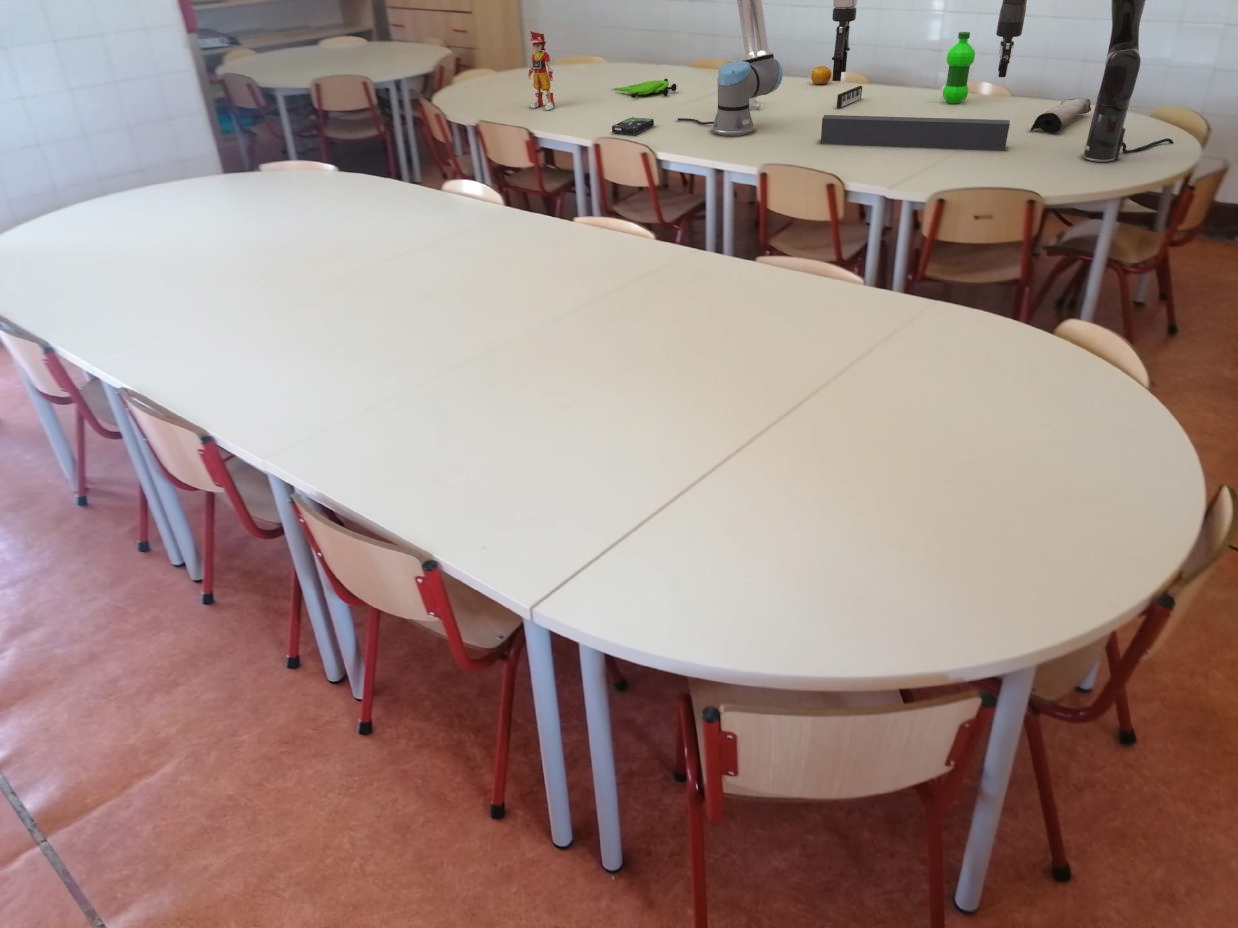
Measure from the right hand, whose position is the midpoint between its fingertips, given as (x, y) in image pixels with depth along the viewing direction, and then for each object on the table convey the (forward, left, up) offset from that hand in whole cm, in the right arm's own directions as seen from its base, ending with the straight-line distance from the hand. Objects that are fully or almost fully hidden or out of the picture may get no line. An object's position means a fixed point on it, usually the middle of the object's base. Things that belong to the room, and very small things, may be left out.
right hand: (1001, 74), depth 290 cm
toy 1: (+149, -106, -23) cm, 184 cm away
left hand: (+47, -21, -1) cm, 52 cm away
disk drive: (+115, -59, -23) cm, 131 cm away
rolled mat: (-36, -22, -23) cm, 48 cm away
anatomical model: (+66, -81, -23) cm, 107 cm away
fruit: (+27, -110, -23) cm, 116 cm away
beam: (+23, -10, -23) cm, 35 cm away
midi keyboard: (+26, -73, -23) cm, 80 cm away
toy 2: (+105, -121, -23) cm, 161 cm away
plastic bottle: (-14, -62, -23) cm, 68 cm away
